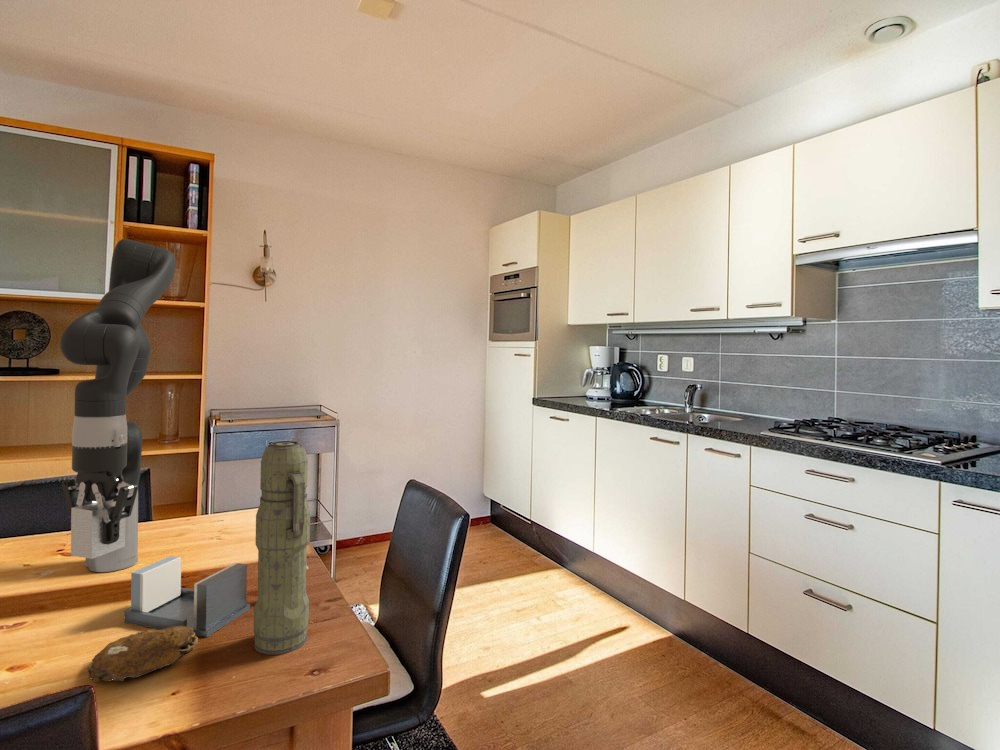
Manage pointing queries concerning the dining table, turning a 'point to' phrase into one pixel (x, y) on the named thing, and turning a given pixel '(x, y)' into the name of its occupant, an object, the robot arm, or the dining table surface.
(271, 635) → the thermos
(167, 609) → the vise
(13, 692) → the dining table surface
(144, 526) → the dining table surface
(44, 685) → the dining table surface
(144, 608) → the block
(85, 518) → the steel block
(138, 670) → the decorative rock
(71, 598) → the dining table surface
